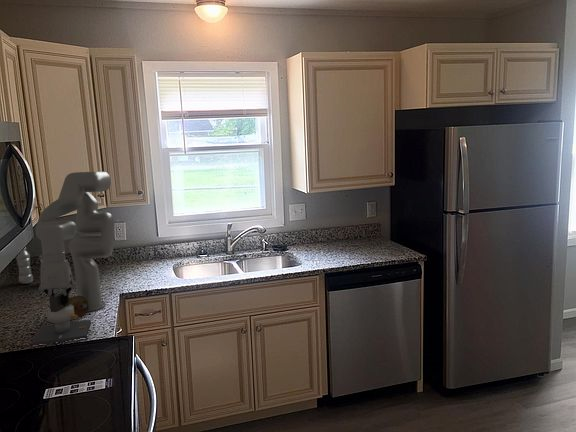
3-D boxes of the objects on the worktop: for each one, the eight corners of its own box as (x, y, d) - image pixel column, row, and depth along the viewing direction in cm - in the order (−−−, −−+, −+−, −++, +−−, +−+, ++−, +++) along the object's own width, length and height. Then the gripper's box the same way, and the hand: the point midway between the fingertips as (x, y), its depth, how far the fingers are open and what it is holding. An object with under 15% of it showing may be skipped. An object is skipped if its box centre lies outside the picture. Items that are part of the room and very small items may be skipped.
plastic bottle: (27, 285, 253) (23, 247, 250) (16, 285, 254) (11, 247, 251) (36, 281, 259) (31, 244, 256) (25, 281, 260) (20, 244, 257)
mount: (41, 329, 192) (39, 314, 191) (91, 323, 197) (89, 308, 196) (32, 346, 175) (30, 330, 175) (86, 339, 180) (85, 323, 180)
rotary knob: (43, 322, 182) (40, 297, 180) (59, 313, 190) (56, 290, 189) (69, 323, 179) (66, 298, 178) (84, 314, 188) (81, 291, 186)
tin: (50, 320, 201) (47, 300, 200) (51, 317, 204) (49, 298, 203) (89, 315, 206) (87, 296, 204) (90, 313, 209) (88, 293, 207)
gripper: (26, 261, 177) (32, 310, 179) (74, 258, 178) (79, 307, 181) (35, 256, 184) (40, 303, 187) (80, 253, 186) (85, 300, 189)
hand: (59, 304), depth 184 cm, fingers closed on rotary knob, 3 cm apart
